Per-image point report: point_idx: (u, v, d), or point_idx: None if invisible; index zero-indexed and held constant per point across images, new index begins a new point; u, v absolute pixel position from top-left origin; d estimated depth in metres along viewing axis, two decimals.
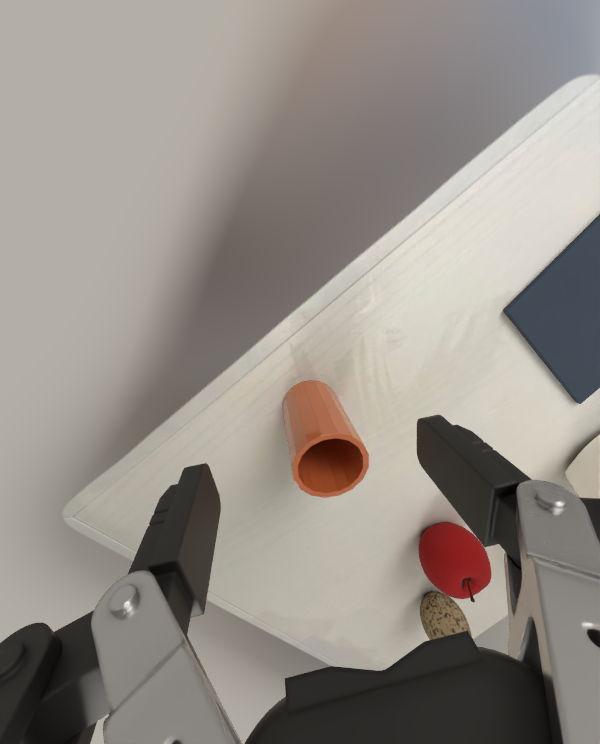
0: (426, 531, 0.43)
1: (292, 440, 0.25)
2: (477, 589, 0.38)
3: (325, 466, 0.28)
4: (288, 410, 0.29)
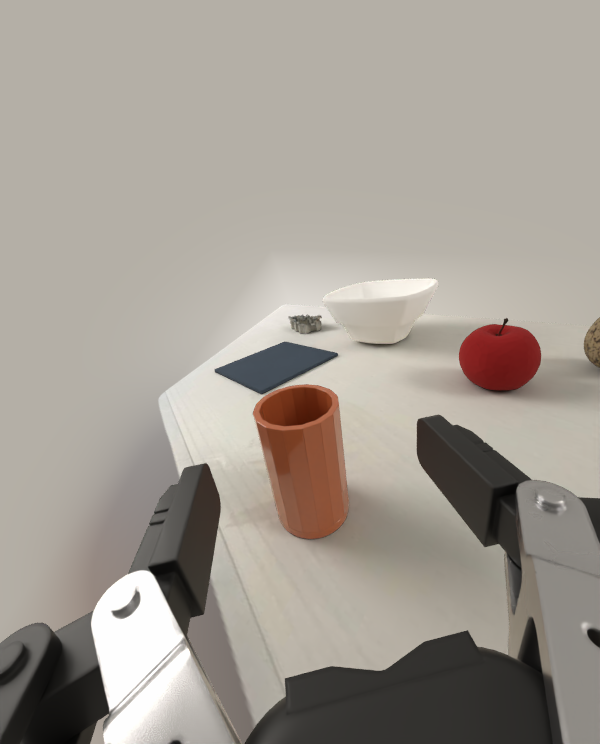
0: (487, 386, 0.38)
1: (276, 454, 0.20)
2: None
3: None
4: (284, 503, 0.22)
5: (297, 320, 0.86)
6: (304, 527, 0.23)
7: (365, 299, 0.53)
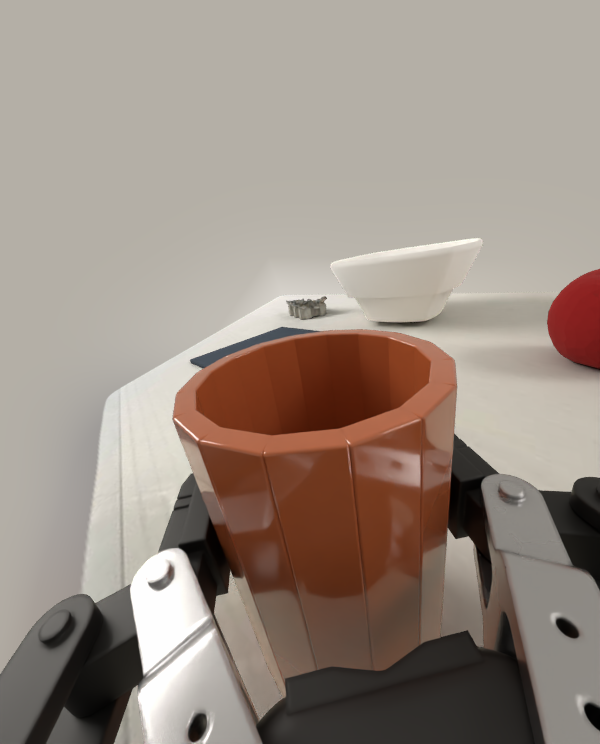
0: None
1: (244, 540, 0.06)
2: None
3: None
4: (277, 662, 0.08)
5: (297, 305, 0.72)
6: None
7: (391, 256, 0.38)
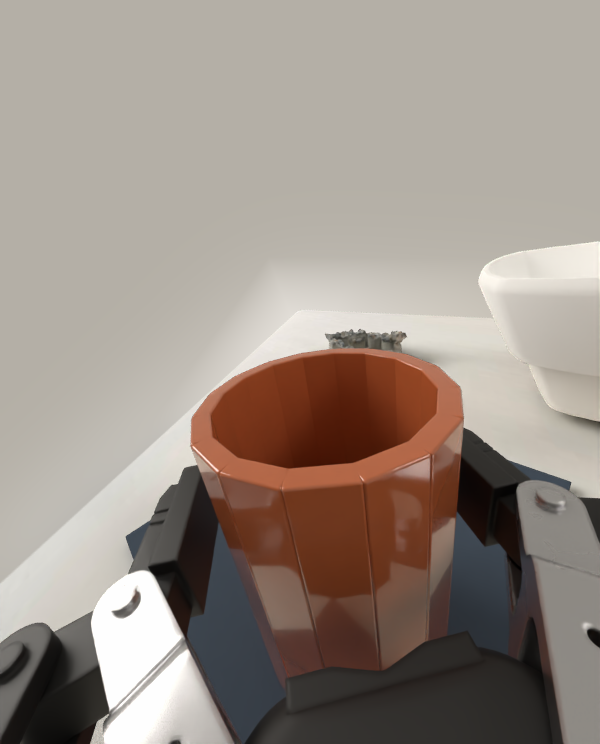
0: None
1: (259, 563, 0.06)
2: None
3: None
4: (288, 675, 0.08)
5: (342, 341, 0.43)
6: None
7: None
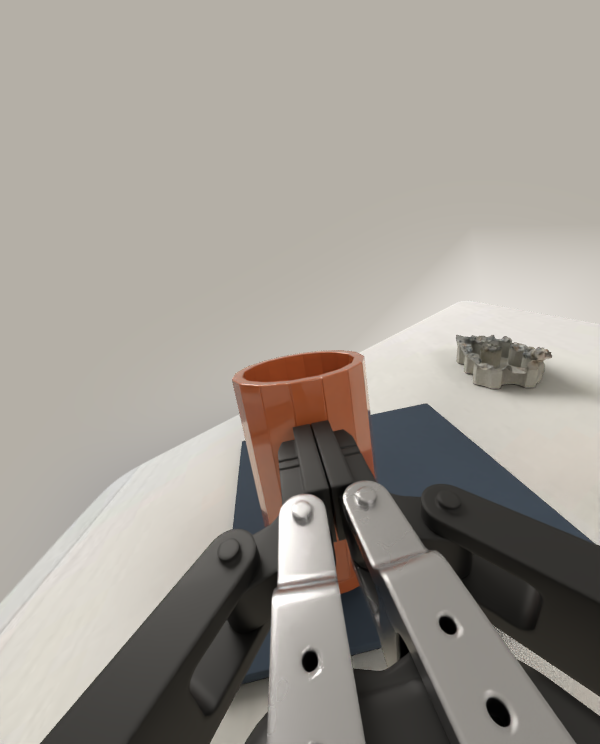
0: None
1: (243, 425, 0.14)
2: None
3: None
4: None
5: (476, 346, 0.39)
6: None
7: None
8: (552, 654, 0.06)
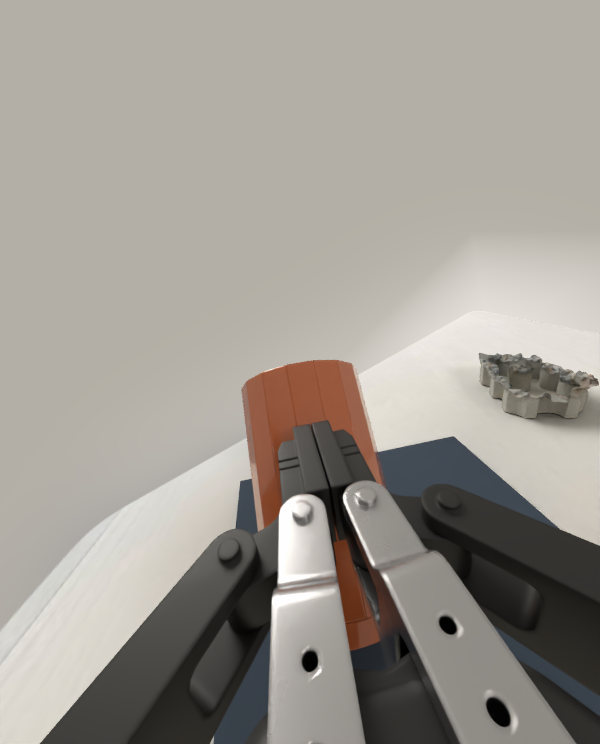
0: None
1: (247, 429, 0.15)
2: None
3: None
4: None
5: (501, 366, 0.35)
6: None
7: None
8: (552, 654, 0.06)
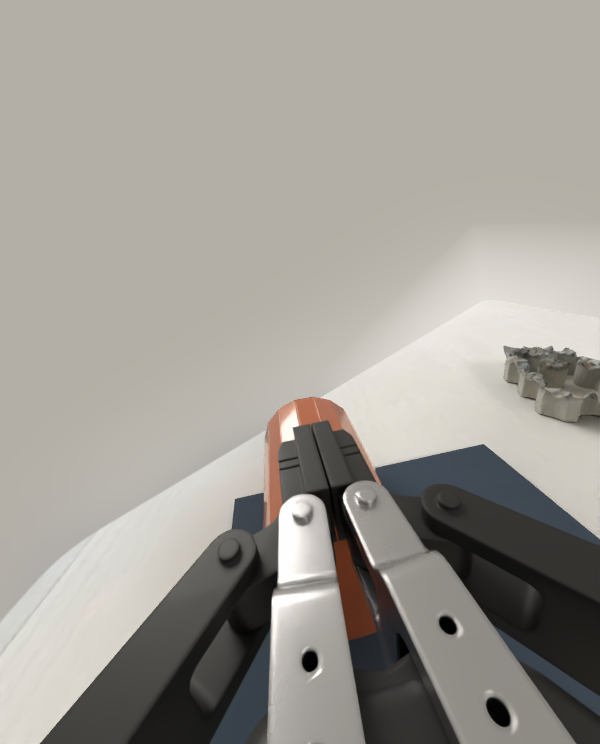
0: None
1: (265, 452, 0.19)
2: None
3: None
4: None
5: (529, 360, 0.31)
6: None
7: None
8: (552, 654, 0.06)
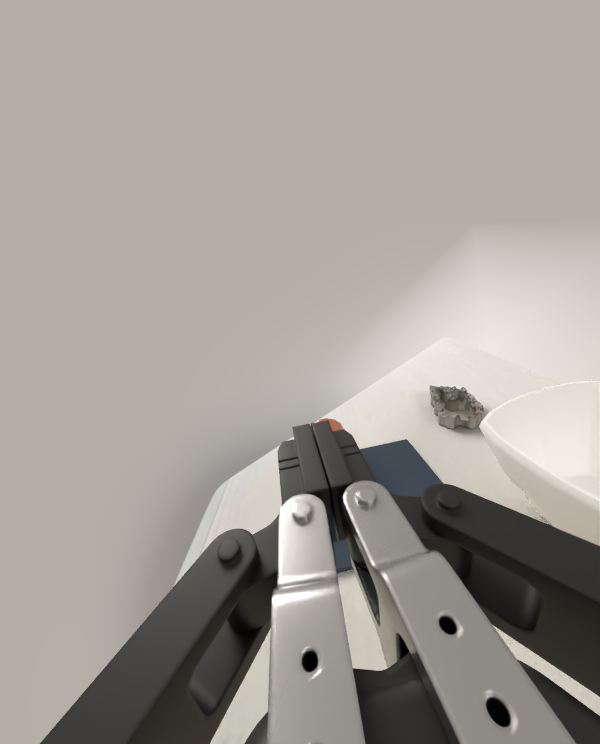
0: None
1: None
2: None
3: None
4: None
5: (443, 393, 0.57)
6: None
7: (584, 495, 0.22)
8: (552, 654, 0.06)
